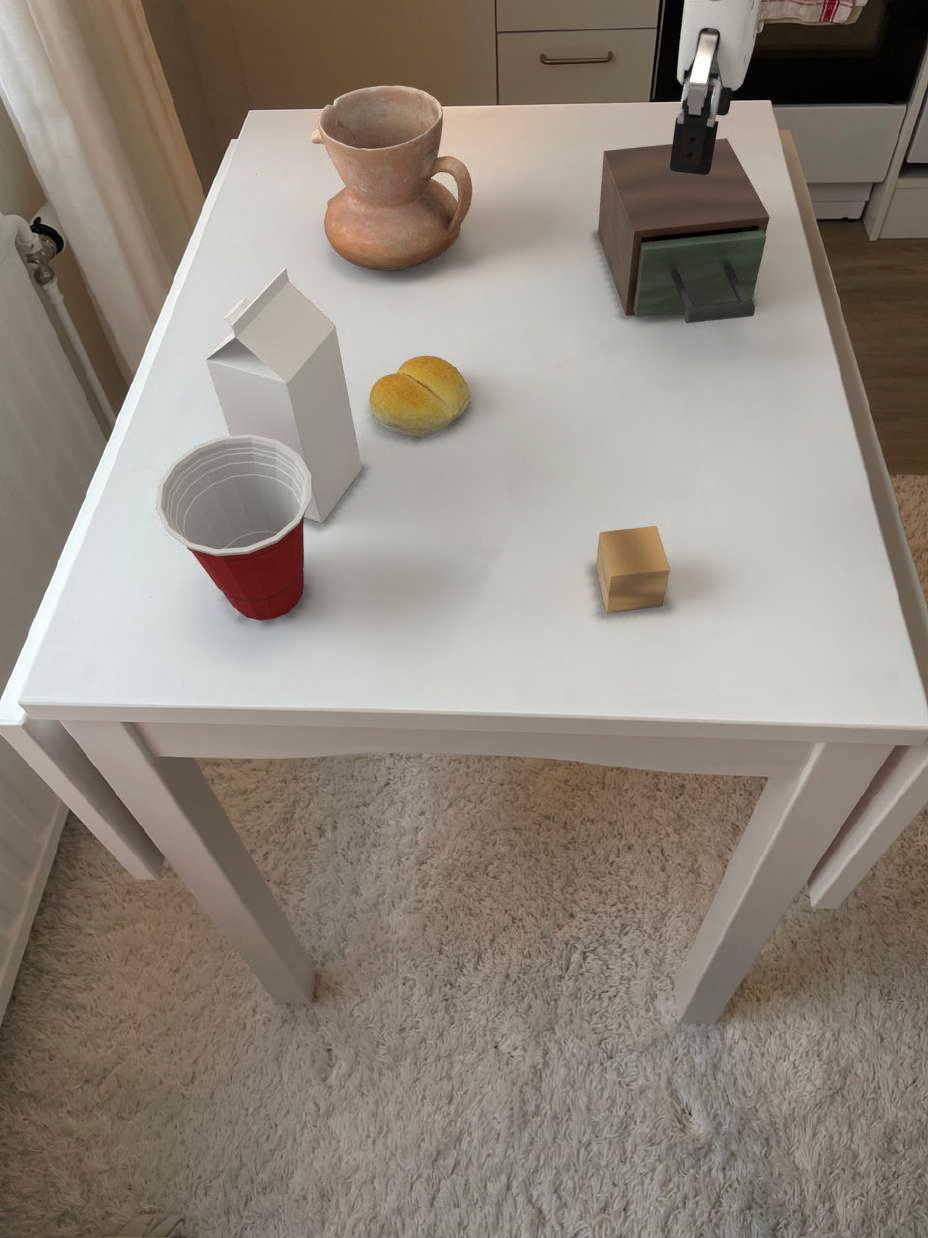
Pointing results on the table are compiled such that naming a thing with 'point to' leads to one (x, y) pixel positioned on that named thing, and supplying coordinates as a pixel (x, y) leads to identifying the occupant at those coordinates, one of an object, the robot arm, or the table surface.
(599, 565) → the block
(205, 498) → the plastic cup
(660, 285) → the drawer
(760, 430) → the table surface
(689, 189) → the cabinet
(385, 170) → the ceramic jug
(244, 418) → the milk carton
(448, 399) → the bread roll
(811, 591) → the table surface
